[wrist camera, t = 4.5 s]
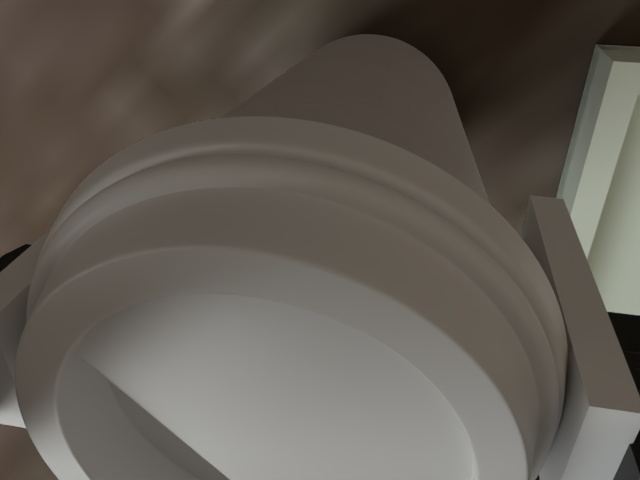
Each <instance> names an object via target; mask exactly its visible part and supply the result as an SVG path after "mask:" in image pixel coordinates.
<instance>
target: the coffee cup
mask: <svg viewBox="0 0 640 480" xmlns="http://www.w3.org/2000/svg"><path fill="white" fill-rule="evenodd" d="M567 369H568V346H567V337H566V331H565V326H564V321H563V317H562V313H561V310H560V307H559V304H558V301H557V299H556V296H555V293H554V291H553V289H552V287H551V284H550V282H549V280H548V278H547V276H546V274H545V272H544V271H543V269H542V267H541V266H540V264H539V262H538V261H537V259H536V258H535V256H534V255H533V253H532V251H531V250H530V249H529V247H528V246H527V245H526V243H525V242H524V241H523V239H522V238H521V237H520V236H519V235H518V233H517V232H516V231H515V230H514V229H513V228H512V226H511V225H510V224H509V223H508V222H507V221H506V220H505V219H504V218H503V217H502V216H501V215H500V214H499V213H498V212H497V211H496V210H495V209H494V208H493V207H492V206H491V205H490V203H489V200H488V197H487V194H486V192H485V189H484V186H483V183H482V180H481V177H480V174H479V172H478V169H477V166H476V163H475V160H474V157H473V154H472V151H471V149H470V146H469V143H468V140H467V137H466V134H465V131H464V128H463V125H462V122H461V120H460V117H459V114H458V111H457V108H456V105H455V102H454V99H453V96H452V93H451V91H450V88H449V86H448V84H447V82H446V80H445V78H444V76H443V75H442V73H441V72H440V70H439V69H438V68H437V67H436V65H435V64H434V63H433V62H432V61H431V60H430V59H429V58H428V57H427V56H426V55H424V54H423V53H422V52H421V51H419V50H418V49H416V48H415V47H413V46H411V45H409V44H407V43H405V42H403V41H401V40H398V39H395V38H392V37H388V36H383V35H376V34H359V35H352V36H347V37H343V38H340V39H337V40H334V41H332V42H330V43H328V44H326V45H324V46H322V47H321V48H319V49H318V50H316V51H315V52H313V53H312V54H310V55H309V56H308V57H306V58H305V59H303V60H302V61H301V62H299V63H298V64H296V65H295V66H294V67H292V68H291V69H289V70H288V71H287V72H285V73H284V74H282V75H281V76H280V77H278V78H277V79H275V80H274V81H273V82H271V83H270V84H268V85H267V86H265V87H264V88H263V89H261V90H260V91H258V92H257V93H256V94H254V95H253V96H251V97H250V98H248V99H247V100H246V101H244V102H243V103H241V104H240V105H239V106H237V107H236V108H234V109H233V110H231V111H230V112H229V113H227V114H226V115H224V116H223V117H221V118H218V119H211V120H205V121H199V122H194V123H189V124H185V125H181V126H178V127H174V128H171V129H168V130H165V131H162V132H159V133H156V134H154V135H151V136H149V137H146V138H144V139H142V140H140V141H138V142H136V143H134V144H132V145H130V146H128V147H126V148H125V149H123V150H121V151H119V152H118V153H116V154H115V155H113V156H112V157H110V158H109V159H108V160H106V161H105V162H103V163H102V164H101V165H100V166H99V167H97V168H96V169H95V170H94V171H93V172H92V173H91V174H90V175H88V176H87V177H86V178H85V179H84V181H83V182H82V183H81V184H80V185H79V186H78V187H77V188H76V190H75V191H74V192H73V193H72V195H71V196H70V197H69V199H68V200H67V202H66V203H65V205H64V206H63V208H62V210H61V211H60V213H59V215H58V217H57V219H56V220H55V222H54V224H53V226H52V228H51V229H50V231H49V233H48V235H47V237H46V239H45V241H44V244H43V246H42V248H41V251H40V254H39V257H38V260H37V263H36V267H35V271H34V274H33V277H32V280H31V284H30V288H29V294H28V300H27V313H26V325H25V327H24V330H23V332H22V335H21V338H20V341H19V344H18V348H17V353H16V358H15V369H14V380H15V390H16V396H17V401H18V405H19V409H20V412H21V416H22V418H23V421H24V424H25V426H26V429H27V431H28V433H29V435H30V437H31V439H32V441H33V443H34V445H35V446H36V448H37V450H38V452H39V453H40V455H41V456H42V458H43V459H44V461H45V462H46V464H47V465H48V466H49V468H50V469H51V470H52V472H53V473H54V474H55V475H56V477H57V478H58V479H59V480H535V479H536V478H537V476H538V474H539V473H540V471H541V469H542V467H543V466H544V464H545V461H546V459H547V457H548V455H549V452H550V450H551V447H552V444H553V441H554V438H555V435H556V433H557V430H558V427H559V423H560V420H561V416H562V411H563V405H564V397H565V387H566V378H567Z"/></svg>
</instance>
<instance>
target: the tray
mask: <svg viewBox="0 0 640 480" xmlns="http://www.w3.org/2000/svg"><path fill="white" fill-rule="evenodd" d="M556 198H560V199H564V201H565V204H566V207H567V209H568V212H569V214H570V217H571V220H572V222H573V225H574V227H575V230H576V233H577V235H578V238H579V240H580V243H581V245H582V248H583V251H584V253H585V256H586V258H587V261H588V264H589V266H590V269H591V271H592V274H593V277H594V279H595V282H596V284H597V287H598V290H599V292H600V295H601V297H602V300H603V302H604V305H605V308H606V310H607V312H615V313H623V314H631V315H640V47H636V46H617V45H598V44H595V48H594V52H593V56H592V60H591V64H590V68H589V71H588V75H587V79H586V83H585V87H584V91H583V95H582V99H581V102H580V106H579V110H578V114H577V118H576V122H575V126H574V130H573V134H572V137H571V141H570V145H569V149H568V153H567V157H566V161H565V165H564V169H563V172H562V176H561V180H560V184H559V188H558V192H557V196H556Z"/></svg>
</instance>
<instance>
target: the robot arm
mask: <svg viewBox="0 0 640 480" xmlns="http://www.w3.org/2000/svg"><path fill="white" fill-rule="evenodd" d="M49 231H50V230H49ZM49 231H48V232H46V233H45V234H44V235H43V236H42V237H41V238H39V239H38V240H37V241H36V242H35V243H34V244H33V245H28V244H25V245H23V246H21V247H19V248H17V249H15V250H13V251H11V252H9V253H7V254H5V255H3V256H2V257H1V258H0V424H5V425H11V426H17V427H23V428H26V426H25V424H24V421H23V418H22V416H21V412H20V409H19V405H18V401H17V396H16V390H15V380H14V369H15V358H16V353H17V348H18V344H19V341H20V338H21V335H22V332H23V330H24V327H25V325H26V313H27V300H28V294H29V288H30V284H31V280H32V277H33V274H34V271H35V267H36V263H37V260H38V257H39V254H40V251H41V248H42V246H43V244H44V241H45V239H46V237H47V235H48V233H49ZM521 238H522V239H523V241H524V242H525V243H526V245H527V246H528V247H529V249H530V250H531V251H532V253H533V255H534V256H535V258H536V259H537V261H538V262H539V264H540V266H541V267H542V269H543V271H544V272H545V274H546V276H547V278H548V280H549V282H550V284H551V287H552V289H553V291H554V293H555V296H556V299H557V301H558V304H559V307H560V310H561V313H562V317H563V321H564V326H565V331H566V337H567V346H568V369H567V378H566V387H565V397H564V405H563V411H562V416H561V420H560V423H559V427H558V430H557V433H556V435H555V438H554V441H553V444H552V447H551V450H550V452H549V455H548V457H547V459H546V461H545V464H544V466H543V467H542V469H541V471H540V473H539V476H540V480H640V315H631V314H623V313H615V312H607V310H606V308H605V305H604V302H603V300H602V297H601V295H600V292H599V290H598V287H597V284H596V282H595V279H594V277H593V274H592V271H591V269H590V266H589V264H588V261H587V258H586V256H585V253H584V251H583V248H582V245H581V243H580V240H579V238H578V235H577V233H576V230H575V227H574V225H573V222H572V220H571V217H570V214H569V212H568V209H567V207H566V204H565V201H564V199H560V198H549V197H538V196H530V199H529V204H528V208H527V212H526V216H525V221H524V225H523V229H522V233H521Z"/></svg>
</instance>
